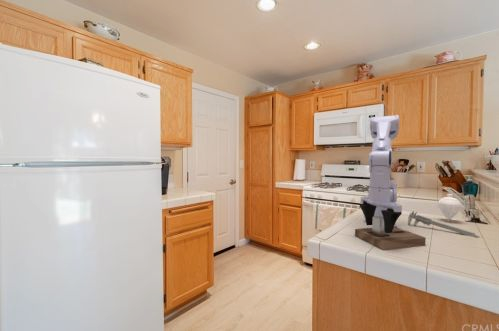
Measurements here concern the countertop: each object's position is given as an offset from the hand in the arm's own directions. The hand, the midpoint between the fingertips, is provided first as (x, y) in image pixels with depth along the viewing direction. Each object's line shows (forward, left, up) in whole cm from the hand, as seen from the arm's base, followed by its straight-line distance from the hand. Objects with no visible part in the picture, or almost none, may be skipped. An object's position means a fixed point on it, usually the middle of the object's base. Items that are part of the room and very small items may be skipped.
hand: (378, 228), depth 72 cm
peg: (0, 0, -4) cm, 4 cm away
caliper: (-4, +32, -5) cm, 33 cm away
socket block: (0, +4, -4) cm, 6 cm away
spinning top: (-12, +48, -4) cm, 50 cm away
